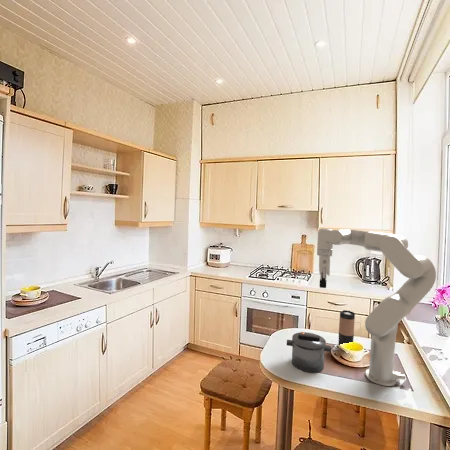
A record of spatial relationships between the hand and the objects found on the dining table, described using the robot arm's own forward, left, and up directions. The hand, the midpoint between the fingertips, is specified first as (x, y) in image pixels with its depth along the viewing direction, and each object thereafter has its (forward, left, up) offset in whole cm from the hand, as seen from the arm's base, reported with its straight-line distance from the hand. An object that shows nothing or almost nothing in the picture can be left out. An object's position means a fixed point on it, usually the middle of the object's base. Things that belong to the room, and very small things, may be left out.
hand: (322, 287), depth 155 cm
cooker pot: (+6, +15, -35) cm, 38 cm away
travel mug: (-14, -10, -35) cm, 39 cm away
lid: (+6, +14, -24) cm, 28 cm away
